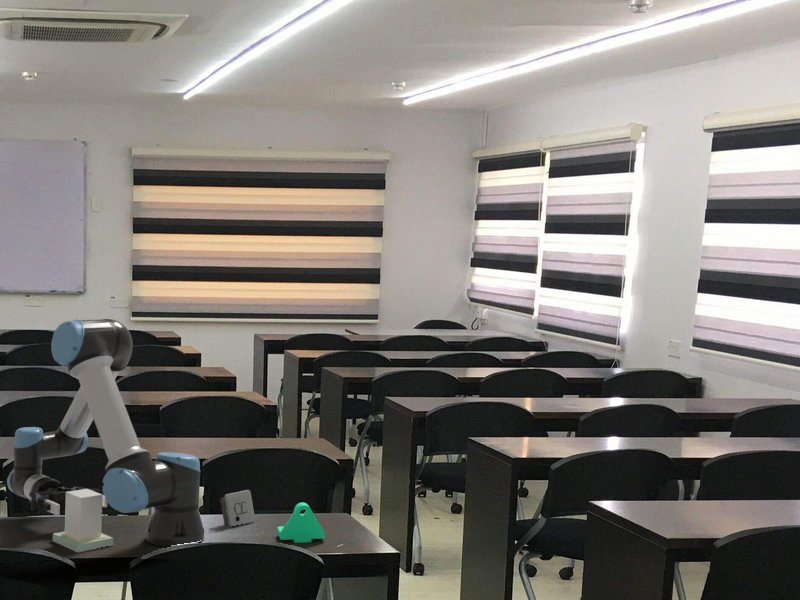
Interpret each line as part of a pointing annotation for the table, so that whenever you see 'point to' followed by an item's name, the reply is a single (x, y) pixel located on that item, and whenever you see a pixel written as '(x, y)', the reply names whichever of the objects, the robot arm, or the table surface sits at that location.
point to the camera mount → (301, 526)
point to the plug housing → (83, 514)
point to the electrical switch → (237, 508)
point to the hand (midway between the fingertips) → (82, 505)
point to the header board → (82, 542)
